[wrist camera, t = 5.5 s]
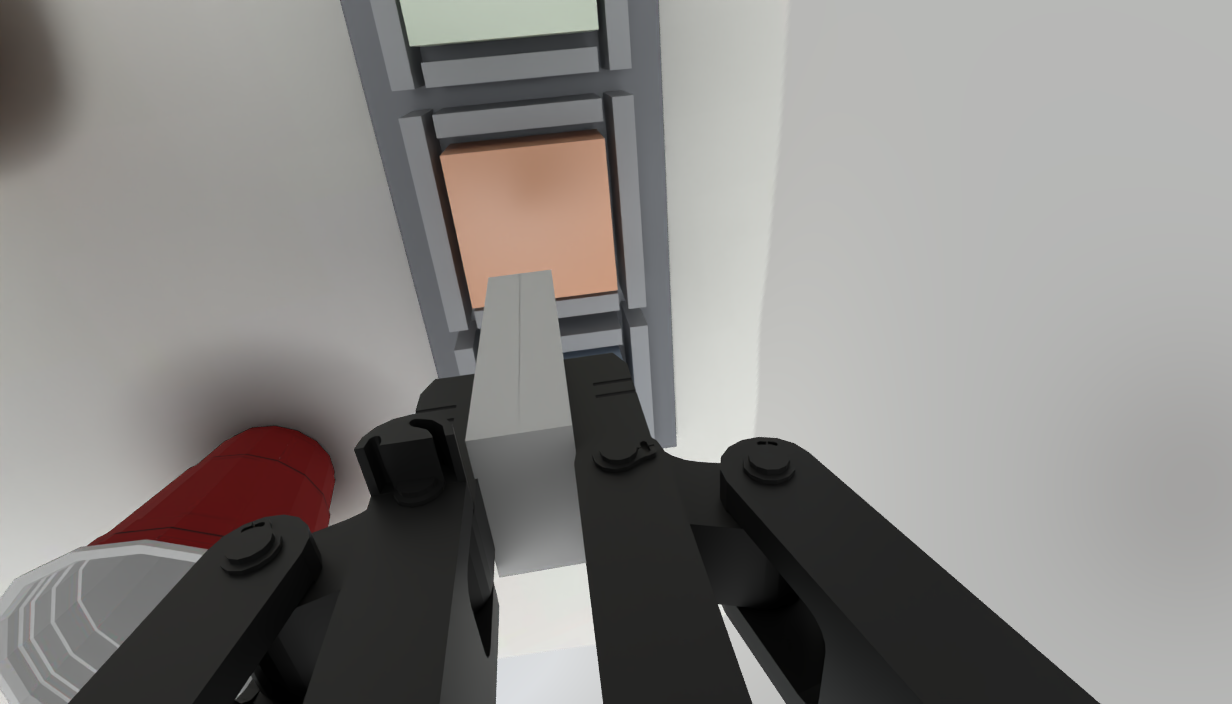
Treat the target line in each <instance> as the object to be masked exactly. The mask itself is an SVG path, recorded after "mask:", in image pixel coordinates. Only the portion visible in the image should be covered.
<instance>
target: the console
mask: <svg viewBox="0 0 1232 704" xmlns="http://www.w3.org/2000/svg"><path fill="white" fill-rule="evenodd" d="M340 2H341V6H342V9H343V13H344V17H345V21H346V25H347V29H348V32H349V36H350V40H351V44H352V48H353V52H354V55H355V59H356V63H357V67H358V71H359V75H360V78H361V82H362V86H363V90H364V94H365V98H366V101H367V105H368V109H369V113H370V117H371V121H372V125H373V128H374V132H375V136H376V140H377V144H378V148H379V151H380V155H381V159H382V163H383V167H384V171H385V174H386V178H387V182H388V186H389V190H390V194H391V197H392V201H393V205H394V209H395V213H396V217H397V220H398V224H399V228H400V232H401V236H402V240H403V243H404V247H405V251H406V255H407V259H408V263H409V266H410V270H411V274H412V278H413V282H414V286H415V289H416V293H417V297H418V301H419V305H420V309H421V312H422V316H423V320H424V324H425V328H426V332H427V335H428V339H429V343H430V347H431V351H432V355H433V358H434V362H435V366H436V370H437V374H438V378H439V379H440V378H448V377H455V376H462V375H469V374H475V368H476V361H477V354H478V347H479V340H480V333H481V326H482V319H483V312H484V307H481V308H473V309H472V304H471V299H470V295H469V290H468V285H467V281H466V276H465V271H464V267H463V262H462V257H461V253H460V248H459V243H458V239H457V234H456V229H455V225H454V220H453V215H452V211H451V206H450V202H449V197H448V192H447V188H446V183H445V178H444V174H443V169H442V164H441V160H440V155H441V154H442V153H443V151H444V150H445V149H446V148H447V147H448V145H449V144H455V143H465V142H475V141H484V140H494V139H504V138H513V137H523V136H532V135H542V134H552V133H561V132H571V131H580V130H590V129H597V130H598V131H599V132H600V134H601V135H602V136H603V137H604V138H605V147H606V159H607V171H608V182H609V194H610V206H611V217H612V229H613V240H614V252H615V264H616V275H617V287H618V290H615V291H607V292H599V293H591V294H584V295H576V296H568V297H560V298H555V301H556V308H557V315H558V322H559V329H560V336H561V343H562V350H563V352H571V351H578V350H586V349H593V348H601V347H608V346H616V345H618V346H619V349H620V352H621V355H622V359H623V361H624V362H626V363H627V365H628V368H629V371H630V374H631V377H632V380H633V383H634V386H635V389H636V392H637V395H638V398H639V401H640V404H641V407H642V410H643V413H644V416H645V419H646V422H647V425H648V428H649V431H650V434H651V437H652V438H654V439H655V440H657V441H658V443H659V444H660V445H661V447H662V448H669V447H676V446H677V444H676V419H675V394H674V369H673V345H672V320H671V295H670V271H669V246H668V221H667V196H666V172H665V147H664V122H663V98H662V73H661V48H660V24H659V0H596V2H597V14H598V26H599V29H598V30H595V31H591V32H583V33H572V34H560V35H549V36H538V37H527V38H516V39H505V40H494V41H483V42H472V43H461V44H450V45H439V46H428V47H415V46H410V45H409V41H408V36H407V31H406V27H405V22H404V18H403V13H402V9H401V4H400V0H340Z"/></svg>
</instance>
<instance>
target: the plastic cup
mask: <svg viewBox="0 0 1232 704" xmlns="http://www.w3.org/2000/svg"><path fill="white" fill-rule="evenodd" d="M334 473H335V472H334V468H333V465H332V462H331V459H330V456H329V455H328V453H327V452H326V451H325V450H324V449H323V448H322V447H321V446H320V444H319V443H318V442H317V441H315V440H313V439H312V438H310V437H308V436H306V435H304V434H303V433H301V432H299V431H297V430H292V429H287V428H283V427H278V426H266V427H255V428H251V429H248V430H246V431H244V432H242V433H240V434H238V435H236V436H234V437H232V438H231V439H228V440H226V441H224V442H223V443H222V444H221V445H220V446H218V447H217V448H216V449H215V450H214V451H213V452H211V453H210V454H209V455H208V456H207V457H205V458H204V459H203V460H202V461H201V462H200V463H198V464H197V465H195V466H193V467H191V468H189V469H188V470H186V471H185V472H184V473H183V474H181V475H180V476H179V477H178V478H176V479H175V480H174V481H173V482H171V483H170V484H169V485H167V486H166V487H165V488H164V489H162V490H161V491H160V492H159V493H157V494H156V495H155V496H154V497H152V498H151V499H150V500H149V501H147V502H146V503H145V504H144V505H142V506H141V507H140V508H138V509H137V510H136V511H135V512H133V513H132V514H131V515H130V516H128V517H127V518H126V519H125V520H123V521H122V522H121V523H120V524H118V525H117V526H116V527H115V528H113V529H112V530H111V531H109V532H108V533H107V534H105V535H103V536H101V537H98V538H97V539H95V540H94V541H93V542H91V543H90V544H89V545H87V546H85V547H80V548H78V549H75V550H73V551H71V552H69V553H67V554H65V555H63V556H61V557H59V558H57V559H55V560H52V561H50V562H48V563H46V564H44V565H42V566H40V567H38V568H36V569H34V570H32V571H30V572H27V573H26V574H24V575H22V576H20V577H18V578H16V579H14V581H13V582H12V583H11V585H10V586H9V587H8V589H7V590H6V591H5V593H4V594H3V595H2V597H1V598H0V690H1V692H2V693H3V695H4V696H5V698H6V700H7V701H8V703H9V704H68V703H69V702H70V700H71V699H72V698H73V697H74V696H75V695H76V694H77V693H78V692H79V691H80V689H81V688H82V687H83V686H84V685H85V684H86V683H87V682H88V681H89V680H90V678H91V677H92V676H93V675H94V674H95V673H96V672H97V671H98V670H99V669H100V667H101V666H102V665H103V664H104V663H105V662H106V661H107V660H108V659H109V658H110V656H111V655H112V654H113V653H114V652H115V651H116V650H117V649H118V648H119V647H120V645H121V644H122V643H123V642H124V641H125V640H126V639H127V638H128V637H129V636H130V635H131V633H132V632H133V631H134V630H135V629H136V628H137V627H138V626H139V625H140V624H141V622H142V621H143V620H144V619H145V618H146V617H147V616H148V615H149V614H150V613H151V611H152V610H153V609H154V608H155V607H156V606H157V605H158V604H159V603H160V602H161V600H162V599H163V598H164V597H165V596H166V595H167V594H168V593H169V592H170V591H171V589H172V588H173V587H174V586H175V585H176V584H177V583H178V582H179V581H180V580H181V578H182V577H183V576H184V575H185V574H186V573H187V572H188V571H189V570H190V569H191V567H192V566H193V565H194V564H195V563H196V562H197V561H198V560H199V559H200V558H201V556H202V555H203V554H204V553H205V552H206V551H207V550H208V549H209V548H211V547H212V546H213V545H214V544H215V543H216V542H217V541H219V540H220V539H221V538H222V537H223V536H225V535H227V534H228V533H230V532H232V531H233V530H235V529H237V528H239V527H240V526H242V525H244V524H247V523H249V522H252V521H255V520H258V519H261V518H263V517H268V516H276V515H284V514H285V515H290V516H295V517H299V518H301V519H302V520H303V521H304V522H305V523H306V524H307V525H308V526H309V529H310V531H311V533H313V532H316V531H319V530H321V529H324V528H327V527H328V525H329V519H330V512H329V508H330V503H331V498H332V493H333V488H334V483H335V478H334ZM251 680H252V677H251V676H250V678H249V679H248V681H247V682H246V684H245V685H244V687H243V688H242V690H241V691H240V693H239V694H238V696H237V697H236V699H237V698H238V697H239V695H240V694H241V693H242V692H243V691H244V690H245V689H246V688H247V686H248V685H249V683H250V682H251Z"/></svg>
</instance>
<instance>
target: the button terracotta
mask: <svg viewBox="0 0 1232 704" xmlns="http://www.w3.org/2000/svg"><path fill="white" fill-rule="evenodd" d="M440 160H441V164H442V169H443V174H444V178H445V183H446V188H447V192H448V197H449V202H450V206H451V211H452V215H453V220H454V225H455V229H456V234H457V239H458V243H459V248H460V253H461V257H462V262H463V267H464V271H465V276H466V281H467V285H468V290H469V295H470V299H471V304H472V309H473V308H481V307H484V305H485V298H486V291H487V284H488V278H489V277H497V276H505V275H512V274H520V273H528V272H536V271H544V270H551V272H552V279H553V286H554V293H555V298H560V297H568V296H576V295H584V294H591V293H599V292H607V291H615V290H618V287H617V275H616V264H615V252H614V240H613V229H612V217H611V206H610V194H609V182H608V171H607V159H606V147H605V138H604V137H603V136H602V135H601V134H600V132H599V131H598V130H597V129H590V130H580V131H571V132H561V133H552V134H542V135H532V136H523V137H513V138H504V139H494V140H484V141H475V142H465V143H455V144H449V145H448V147H447V148H446V149H445V150H444V151H443V153H442V154H441V155H440Z"/></svg>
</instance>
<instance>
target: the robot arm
mask: <svg viewBox="0 0 1232 704" xmlns="http://www.w3.org/2000/svg"><path fill="white" fill-rule="evenodd" d="M354 451H355V454H356V456H357V459H358V462H359V464H360V467H361V470H362V473H363V475H364V478H365V481H366V484H367V486H368V489H369V492H370V494H371V499H370V502H369V505H368V508H367V510H365V511H364V512H362V513H361V514H358V515H356V516H354V517H352V518H350V519H347V520H345V521H342V522H340V523H337V524H335V525H332V526H329V527H327V528H324V529H321V530H319V531H316V532H313V533H311V531H310V529H309V526H308V525H307V524H306V523H305V522H304V521H303V520H302V519H301V518H299V517H295V516H290V515H285V514H284V515H276V516H268V517H263V518H261V519H258V520H255V521H252V522H249V523H247V524H244V525H242V526H240V527H239V528H237V529H235V530H233V531H232V532H230V533H228V534H227V535H225V536H223V537H222V538H221V539H220V540H219V541H217V542H216V543H215V544H214V545H213V546H212V547H211V548H209V549H208V550H207V551H206V552H205V553H204V554H203V555H202V556H201V558H200V559H199V560H198V561H197V562H196V563H195V564H194V565H193V566H192V567H191V569H190V570H189V571H188V572H187V573H186V574H185V575H184V576H183V577H182V578H181V580H180V581H179V582H178V583H177V584H176V585H175V586H174V587H173V588H172V589H171V591H170V592H169V593H168V594H167V595H166V596H165V597H164V598H163V599H162V600H161V602H160V603H159V604H158V605H157V606H156V607H155V608H154V609H153V610H152V611H151V613H150V614H149V615H148V616H147V617H146V618H145V619H144V620H143V621H142V622H141V624H140V625H139V626H138V627H137V628H136V629H135V630H134V631H133V632H132V633H131V635H130V636H129V637H128V638H127V639H126V640H125V641H124V642H123V643H122V644H121V645H120V647H119V648H118V649H117V650H116V651H115V652H114V653H113V654H112V655H111V656H110V658H109V659H108V660H107V661H106V662H105V663H104V664H103V665H102V666H101V667H100V669H99V670H98V671H97V672H96V673H95V674H94V675H93V676H92V677H91V678H90V680H89V681H88V682H87V683H86V684H85V685H84V686H83V687H82V688H81V689H80V691H79V692H78V693H77V694H76V695H75V696H74V697H73V698H72V699H71V700H70V702H69V703H68V704H496V682H497V680H496V679H497V654H498V626H499V603H498V598H497V594H496V590H495V586H494V582H493V580H494V561H495V562H496V566H497V570H498V574H499V577H505V576H511V575H517V574H523V573H528V572H534V571H540V570H546V569H552V568H557V567H563V566H569V565H575V564H581V563H586V566H587V574H588V583H589V591H590V599H591V607H592V615H593V623H594V632H595V640H596V647H597V656H598V664H599V673H600V681H601V689H602V697H603V704H752V701H751V698H750V696H749V693H748V690H747V687H746V684H745V681H744V678H743V676H742V673H741V670H740V667H739V664H738V661H737V658H736V656H735V653H734V650H733V647H732V644H731V641H730V638H729V636H728V632H727V630H726V627H725V624H724V621H723V618H722V615H721V612H720V610H719V607H718V604H722V606H723V609H724V611H725V613H726V615H727V616H728V617H729V619H730V621H731V622H732V624H733V625H734V627H735V628H736V629H737V631H738V633H739V634H740V635H741V637H742V638H743V640H744V641H745V643H746V644H747V646H748V647H749V649H750V650H751V652H752V653H753V655H754V656H755V658H756V659H757V661H758V662H759V664H760V665H761V667H762V668H763V670H764V671H765V673H766V674H767V676H768V677H769V679H770V680H771V682H772V683H773V685H774V686H775V688H776V689H777V691H778V692H779V694H780V695H781V697H782V698H783V700H784V701H785V703H786V704H1100V703H1099V702H1098V701H1096V700H1095V699H1094V698H1093V697H1092V696H1091V695H1089V694H1088V693H1087V692H1086V691H1085V690H1084V689H1082V688H1081V687H1080V686H1079V685H1078V684H1077V683H1075V682H1074V681H1073V680H1072V679H1071V678H1070V677H1068V676H1067V675H1066V674H1065V673H1064V672H1063V671H1062V670H1060V669H1059V668H1058V667H1057V666H1056V665H1055V664H1054V663H1052V662H1051V661H1050V660H1049V659H1048V658H1046V657H1045V656H1044V655H1043V654H1042V653H1041V652H1040V651H1038V650H1037V649H1036V648H1035V647H1034V646H1033V645H1032V644H1030V643H1029V642H1028V641H1027V640H1025V639H1024V638H1023V637H1022V636H1021V635H1020V634H1019V633H1018V632H1016V631H1015V630H1014V629H1013V628H1012V627H1011V626H1009V625H1008V624H1007V623H1006V622H1005V621H1004V620H1003V619H1001V618H1000V617H999V616H998V615H997V614H996V613H994V612H993V611H992V610H991V609H990V608H988V607H987V606H986V605H985V604H984V603H983V602H981V601H980V600H979V599H978V598H977V597H976V596H975V595H973V594H972V593H971V592H970V591H969V590H968V589H967V588H965V587H964V586H963V585H962V584H961V583H960V582H958V581H957V580H956V579H955V578H954V577H953V576H951V575H950V574H949V573H948V572H947V571H946V570H945V569H943V568H942V567H941V566H940V565H939V564H938V563H936V562H935V561H934V560H933V559H932V558H931V557H929V556H928V555H927V554H926V553H925V552H924V551H922V550H921V549H920V548H919V547H918V546H917V545H916V544H914V543H913V542H912V541H911V540H910V539H909V538H907V537H906V536H905V535H904V534H903V533H902V532H901V531H899V530H898V529H897V528H896V527H895V526H893V525H892V524H891V523H890V522H889V521H888V520H887V519H885V518H884V517H883V516H882V515H881V514H880V513H878V512H877V511H876V510H875V509H874V508H873V507H871V506H870V505H869V504H868V503H867V502H866V501H865V500H863V499H862V498H861V497H860V496H859V495H857V494H856V493H855V492H854V491H853V490H852V489H851V488H849V487H848V486H847V485H846V484H845V483H844V482H842V481H841V480H840V479H839V478H838V477H837V476H835V475H834V474H833V473H832V472H831V471H830V470H829V469H827V468H826V467H825V466H824V465H823V464H822V463H820V462H819V461H818V460H817V459H816V458H815V457H813V456H812V455H811V454H810V453H809V452H807V451H806V450H804V449H803V448H801V447H799V446H798V445H796V444H794V443H791V442H788V441H785V440H781V439H778V438H766V437H765V438H764V437H756V438H751V439H746V440H741V441H739V442H737V443H736V444H734V445H732V446H730V447H728V449H727V450H726V451H725V453H724V454H723V455H722V456H721V463H707V462H696V461H689V460H683V459H680V458H677V457H674V456H672V455H670V454H668V453H666V452H665V451H664V450H663V448H662V447H661V445H660V444H659V443H658V441H657V440H655V439H654V438H652V437H651V434H650V431H649V428H648V425H647V422H646V419H645V416H644V413H643V410H642V407H641V404H640V401H639V398H638V395H637V392H636V389H635V386H634V383H633V380H632V377H631V374H630V371H629V368H628V365H627V363H626V362H624V361H623V360H622V359H620V358H619V357H618V356H617V355H615V354H614V353H606V354H598V355H591V356H584V357H577V358H570V359H564V357H563V350H562V343H561V336H560V329H559V322H558V315H557V308H556V301H555V293H554V286H553V279H552V272H551V270H544V271H536V272H528V273H520V274H512V275H505V276H497V277H489V278H488V284H487V291H486V298H485V305H484V312H483V319H482V326H481V333H480V340H479V347H478V354H477V361H476V368H475V374H469V375H462V376H455V377H448V378H440V379H435V380H434V381H433V382H432V383H431V384H430V385H429V386H428V387H427V388H426V389H425V390H424V391H423V392H422V393H421V395H420V398H419V401H418V405H417V408H416V414H412V415H408V416H404V417H400V418H396V419H393V420H391V421H388V422H386V423H384V424H382V425H380V426H377V427H376V428H374V429H373V430H372V431H370V432H369V433H368V434H366V435H365V436H364V437H362V439H361V440H360V441H359V443H358V444H357V446H356V447H355V448H354ZM250 676H251V677H252V680H251V682H250V683H249V685H248V686H247V688H246V689H245V690H244V691H243V692H242V693H241V694H240V695H239V697H238V698H237V699H236V697H237V696H238V694H239V693H240V691H241V690H242V688H243V687H244V685H245V684H246V682H247V681H248V679H249V678H250Z"/></svg>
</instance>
